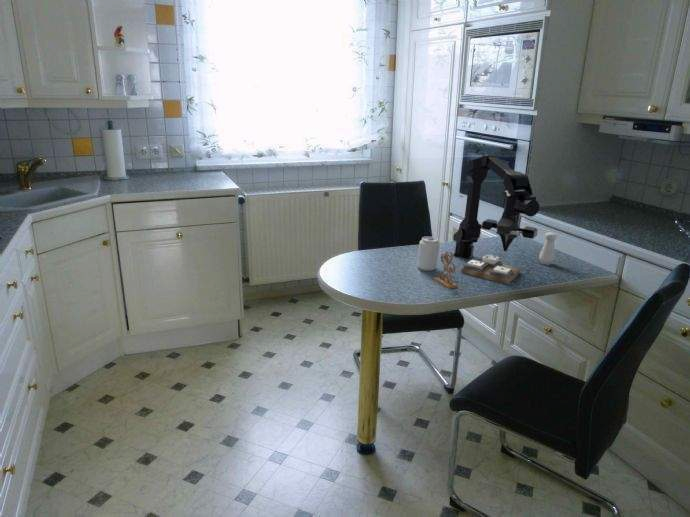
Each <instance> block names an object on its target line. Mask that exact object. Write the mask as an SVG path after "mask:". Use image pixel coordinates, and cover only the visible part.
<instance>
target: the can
mask: <svg viewBox="0 0 690 517" xmlns="http://www.w3.org/2000/svg"><path fill="white" fill-rule="evenodd" d="M440 245H441V244H440V242H439V239H438V238H437V237H434V236H423V237H421V240H420V241H419V245H418V254H417V263H416V265H417V267H418V268H419V270H422V271H425V272H432V271H434V270H436V269H437V267H438V259H439V252H440Z"/></svg>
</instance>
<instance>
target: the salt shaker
mask: <svg viewBox="0 0 690 517" xmlns="http://www.w3.org/2000/svg"><path fill="white" fill-rule="evenodd" d="M544 238H545V242H544V244H543V246H542V249H541V250H540V253H539V255H538V258H539V262H540V264H541V263H542V264H541V265H543V266H550V265H552V263H553V262H554V261H555V241H556V239H557V234H556V233H554V232H551V231H550V232H546V233H545V234H544Z"/></svg>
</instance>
